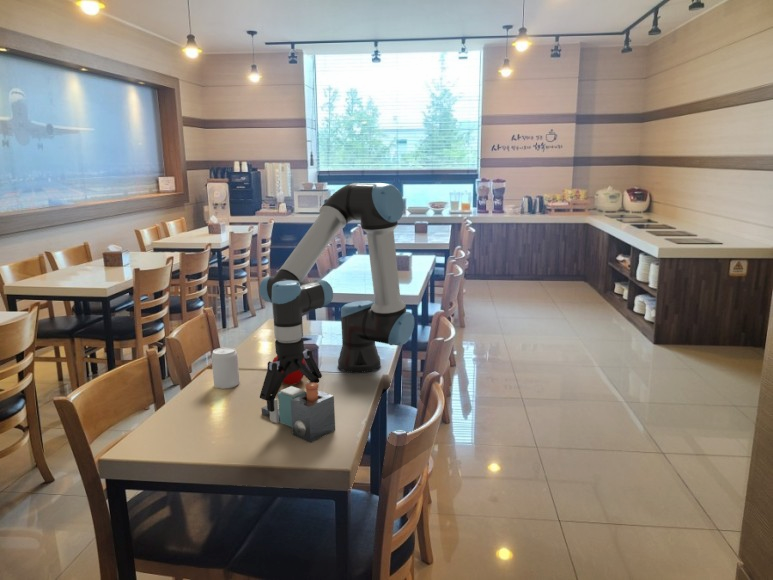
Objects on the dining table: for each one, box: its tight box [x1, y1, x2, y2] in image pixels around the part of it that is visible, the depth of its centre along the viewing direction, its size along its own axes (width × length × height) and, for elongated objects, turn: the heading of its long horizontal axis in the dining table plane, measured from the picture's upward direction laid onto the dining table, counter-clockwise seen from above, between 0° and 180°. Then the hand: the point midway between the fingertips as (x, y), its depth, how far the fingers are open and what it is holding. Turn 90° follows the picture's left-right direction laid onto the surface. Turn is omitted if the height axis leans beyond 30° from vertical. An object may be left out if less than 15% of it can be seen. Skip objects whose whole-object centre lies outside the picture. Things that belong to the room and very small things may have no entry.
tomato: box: [272, 355, 306, 386], centre depth 186 cm, size 11×13×10 cm
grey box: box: [291, 389, 336, 444], centre depth 149 cm, size 9×7×10 cm
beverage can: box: [211, 346, 241, 390], centre depth 183 cm, size 8×8×12 cm
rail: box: [261, 405, 280, 423], centre depth 157 cm, size 2×17×2 cm, turn 51°
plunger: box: [304, 383, 319, 402], centre depth 148 cm, size 3×3×6 cm
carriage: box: [277, 385, 306, 428], centre depth 154 cm, size 5×6×9 cm
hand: (293, 412), depth 155 cm, fingers open, 13 cm apart
